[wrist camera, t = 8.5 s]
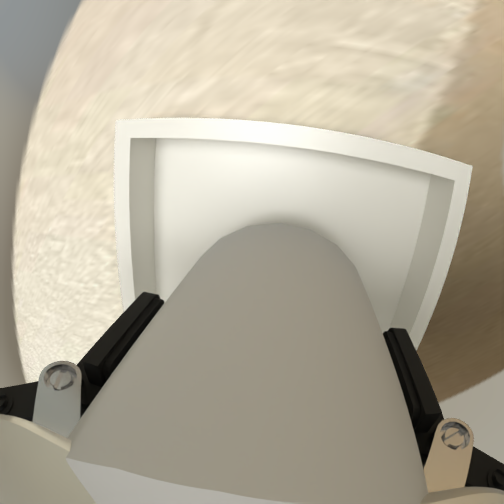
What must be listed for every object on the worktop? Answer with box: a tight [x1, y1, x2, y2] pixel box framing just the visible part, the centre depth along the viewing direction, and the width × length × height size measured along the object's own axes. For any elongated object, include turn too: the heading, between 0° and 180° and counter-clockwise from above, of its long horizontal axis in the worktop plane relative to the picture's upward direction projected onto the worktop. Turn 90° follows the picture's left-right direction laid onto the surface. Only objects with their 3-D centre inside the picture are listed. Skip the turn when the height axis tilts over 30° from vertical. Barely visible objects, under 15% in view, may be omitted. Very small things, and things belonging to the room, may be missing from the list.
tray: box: [114, 118, 473, 351], centre depth 14 cm, size 15×15×3 cm
